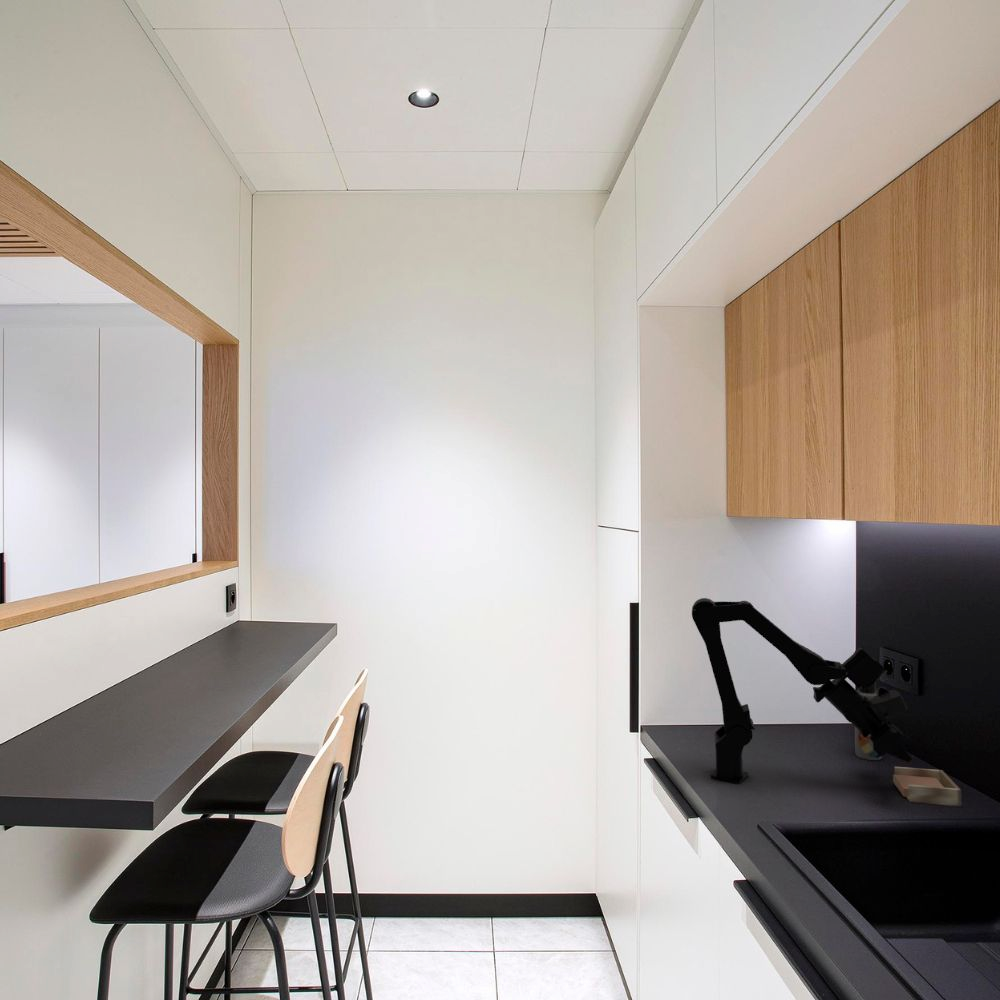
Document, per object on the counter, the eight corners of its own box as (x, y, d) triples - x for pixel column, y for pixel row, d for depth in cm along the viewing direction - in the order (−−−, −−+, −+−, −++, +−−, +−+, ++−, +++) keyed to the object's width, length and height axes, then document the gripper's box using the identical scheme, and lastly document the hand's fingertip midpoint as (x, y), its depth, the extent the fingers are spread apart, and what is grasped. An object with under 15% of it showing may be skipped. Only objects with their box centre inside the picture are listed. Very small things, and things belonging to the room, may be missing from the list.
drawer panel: (903, 788, 140) (948, 792, 138) (893, 774, 148) (935, 777, 146) (903, 796, 140) (948, 800, 138) (893, 782, 148) (936, 785, 146)
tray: (910, 802, 138) (909, 785, 138) (894, 781, 149) (894, 766, 149) (961, 806, 136) (961, 790, 136) (942, 785, 147) (941, 770, 147)
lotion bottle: (882, 762, 161) (879, 675, 161) (854, 758, 164) (852, 673, 164) (883, 755, 166) (880, 670, 166) (856, 751, 169) (854, 668, 169)
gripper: (891, 688, 136) (956, 749, 133) (869, 668, 154) (926, 722, 151) (848, 725, 138) (911, 786, 135) (831, 701, 156) (886, 755, 153)
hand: (909, 760), depth 143 cm, fingers closed
